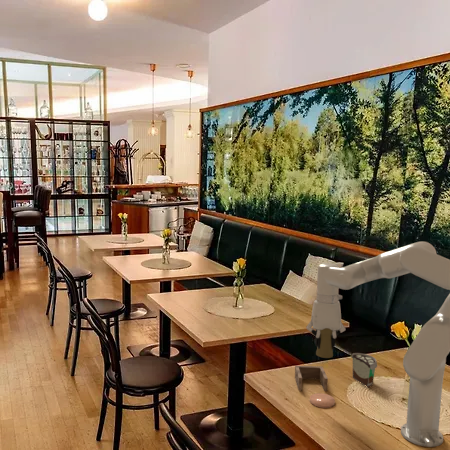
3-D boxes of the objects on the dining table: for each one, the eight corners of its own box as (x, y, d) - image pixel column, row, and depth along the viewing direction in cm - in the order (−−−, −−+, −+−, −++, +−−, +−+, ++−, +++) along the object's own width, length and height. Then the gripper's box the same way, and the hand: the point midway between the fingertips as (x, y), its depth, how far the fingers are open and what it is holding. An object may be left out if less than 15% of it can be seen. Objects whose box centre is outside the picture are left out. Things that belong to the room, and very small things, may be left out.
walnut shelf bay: (327, 391, 183) (327, 378, 182) (298, 390, 183) (299, 377, 182) (321, 378, 194) (322, 366, 193) (294, 377, 194) (295, 365, 193)
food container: (382, 386, 187) (384, 362, 186) (369, 389, 185) (371, 364, 184) (362, 374, 199) (364, 351, 197) (350, 376, 196) (351, 352, 195)
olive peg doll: (336, 357, 170) (337, 327, 169) (320, 358, 168) (322, 328, 167) (328, 350, 176) (329, 321, 174) (313, 352, 174) (314, 323, 173)
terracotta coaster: (337, 408, 170) (337, 405, 170) (311, 407, 170) (311, 404, 170) (331, 396, 179) (332, 393, 179) (307, 395, 179) (308, 392, 179)
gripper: (348, 296, 173) (345, 344, 175) (302, 294, 173) (300, 343, 176) (353, 301, 166) (350, 352, 168) (305, 300, 166) (303, 351, 168)
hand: (324, 347), depth 172 cm, fingers closed on olive peg doll, 4 cm apart
